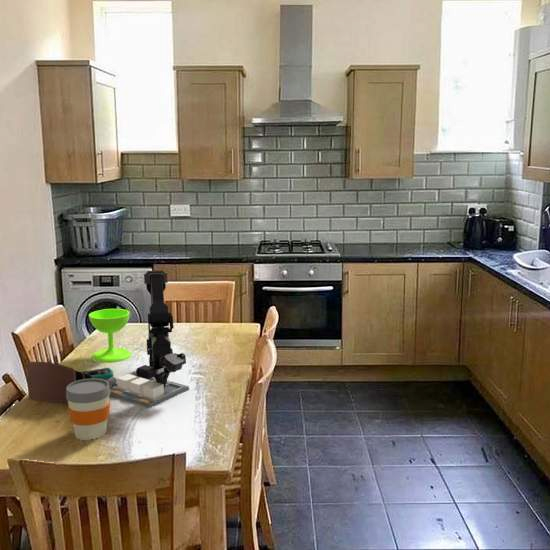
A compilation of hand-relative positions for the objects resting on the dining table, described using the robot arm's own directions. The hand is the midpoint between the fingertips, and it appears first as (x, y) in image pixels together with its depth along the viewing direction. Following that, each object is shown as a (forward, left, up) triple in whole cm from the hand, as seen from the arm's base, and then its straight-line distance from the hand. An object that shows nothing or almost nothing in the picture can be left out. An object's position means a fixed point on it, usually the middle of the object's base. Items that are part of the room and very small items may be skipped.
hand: (162, 389), depth 210 cm
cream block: (+4, -7, -1) cm, 8 cm away
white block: (+4, -13, -1) cm, 14 cm away
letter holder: (+21, -28, -3) cm, 34 cm away
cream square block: (+4, 0, -1) cm, 4 cm away
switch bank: (0, -7, -3) cm, 7 cm away
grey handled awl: (+7, -20, -2) cm, 21 cm away
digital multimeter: (+3, -34, -3) cm, 34 cm away
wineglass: (-18, -48, -3) cm, 51 cm away
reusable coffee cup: (+33, +2, -3) cm, 33 cm away
